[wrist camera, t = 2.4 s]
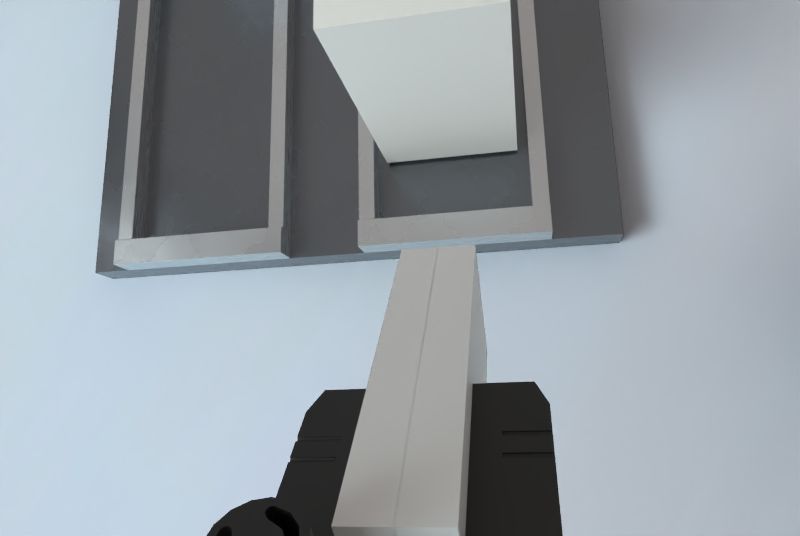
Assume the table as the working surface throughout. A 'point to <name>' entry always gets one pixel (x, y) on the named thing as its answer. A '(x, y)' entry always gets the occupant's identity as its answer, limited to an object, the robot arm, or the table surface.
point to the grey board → (334, 147)
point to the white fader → (425, 72)
